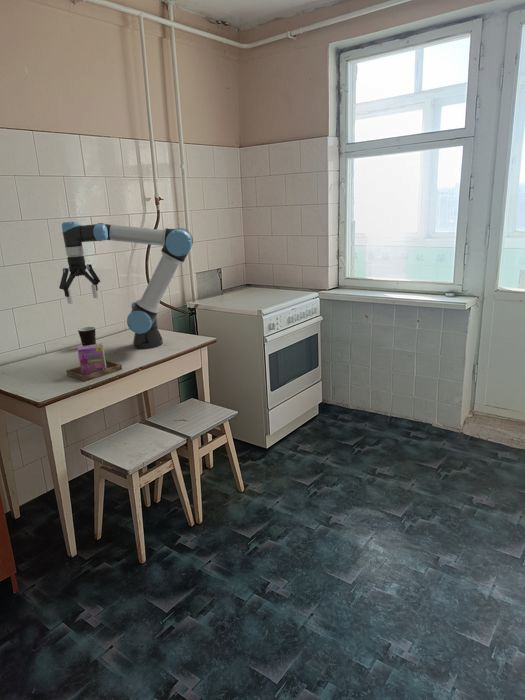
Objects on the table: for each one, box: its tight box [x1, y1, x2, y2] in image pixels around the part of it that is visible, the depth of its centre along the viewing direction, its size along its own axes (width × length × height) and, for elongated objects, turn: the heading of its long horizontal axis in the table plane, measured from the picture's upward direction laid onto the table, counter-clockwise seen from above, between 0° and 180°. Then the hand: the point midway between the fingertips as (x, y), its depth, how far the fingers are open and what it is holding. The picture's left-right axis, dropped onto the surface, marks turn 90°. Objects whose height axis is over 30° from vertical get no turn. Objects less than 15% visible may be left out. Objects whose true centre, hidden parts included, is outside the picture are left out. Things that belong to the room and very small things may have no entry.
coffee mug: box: [77, 326, 97, 346], centre depth 261 cm, size 12×9×10 cm
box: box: [77, 343, 107, 375], centre depth 219 cm, size 10×6×12 cm, turn 105°
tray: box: [66, 359, 123, 382], centre depth 220 cm, size 19×15×2 cm
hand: (83, 300), depth 237 cm, fingers open, 13 cm apart
